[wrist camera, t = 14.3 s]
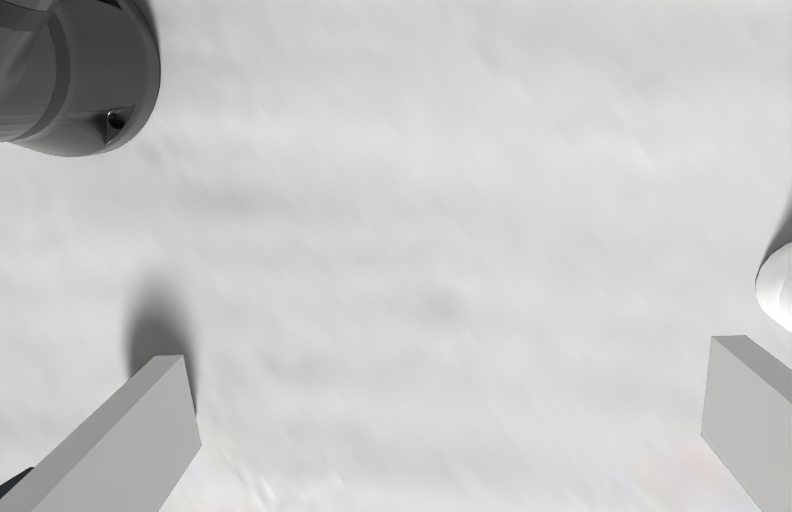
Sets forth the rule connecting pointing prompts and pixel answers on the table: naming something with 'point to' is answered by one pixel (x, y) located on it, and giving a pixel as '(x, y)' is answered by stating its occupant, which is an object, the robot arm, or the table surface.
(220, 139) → the table surface
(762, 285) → the bottle
